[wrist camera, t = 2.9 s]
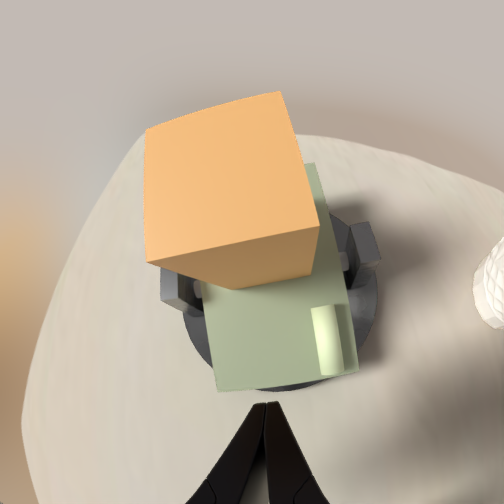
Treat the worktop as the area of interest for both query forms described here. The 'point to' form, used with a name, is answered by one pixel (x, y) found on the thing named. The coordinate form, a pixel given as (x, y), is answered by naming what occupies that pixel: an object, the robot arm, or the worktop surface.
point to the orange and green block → (250, 243)
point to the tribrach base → (356, 279)
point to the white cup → (491, 287)
